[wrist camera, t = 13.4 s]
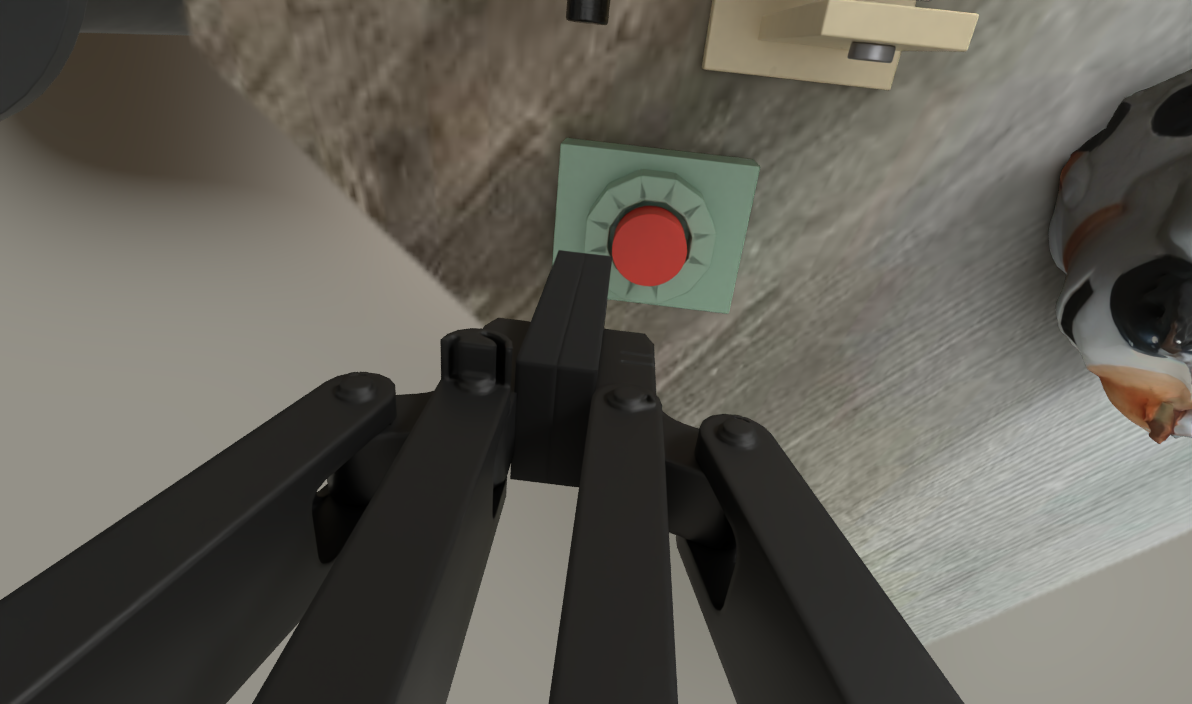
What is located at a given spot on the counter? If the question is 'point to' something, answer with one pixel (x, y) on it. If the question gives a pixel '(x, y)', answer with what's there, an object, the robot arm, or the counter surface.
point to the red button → (649, 246)
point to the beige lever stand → (828, 38)
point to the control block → (671, 181)
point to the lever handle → (593, 11)
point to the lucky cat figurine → (1133, 257)
